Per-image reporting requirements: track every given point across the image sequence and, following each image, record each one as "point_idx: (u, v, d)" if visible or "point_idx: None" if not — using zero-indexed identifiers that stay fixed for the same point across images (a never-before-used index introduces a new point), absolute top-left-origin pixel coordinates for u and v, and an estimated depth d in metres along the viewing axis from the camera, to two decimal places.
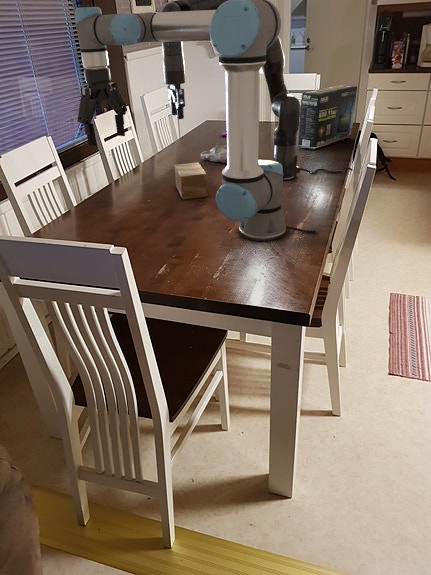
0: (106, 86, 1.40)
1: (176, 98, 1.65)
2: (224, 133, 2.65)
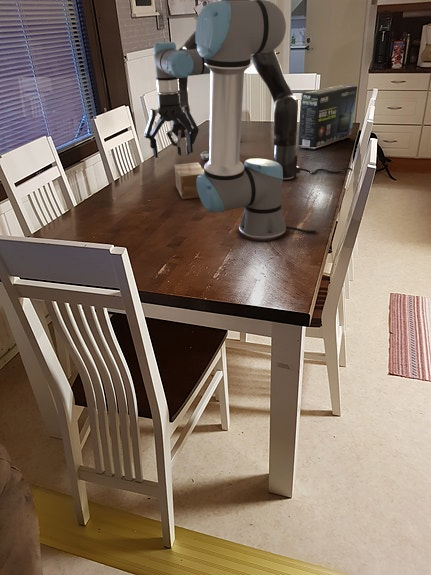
0: (176, 109, 1.61)
1: None
2: None
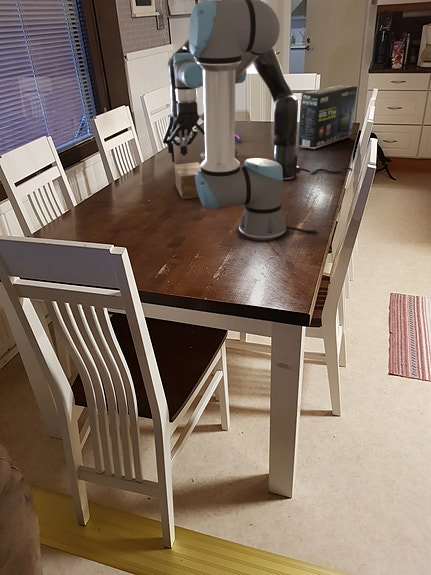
0: (193, 116, 1.68)
1: (188, 135, 1.88)
2: None
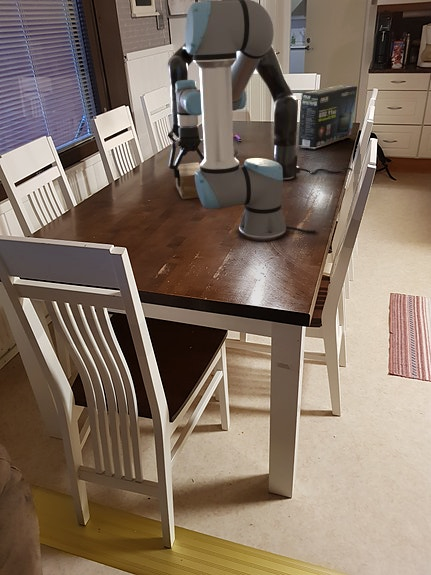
0: (195, 140, 1.72)
1: None
2: None
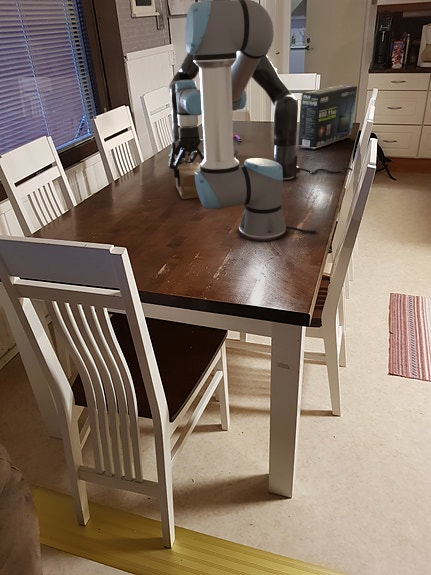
0: (195, 140, 1.72)
1: (189, 155, 1.93)
2: None
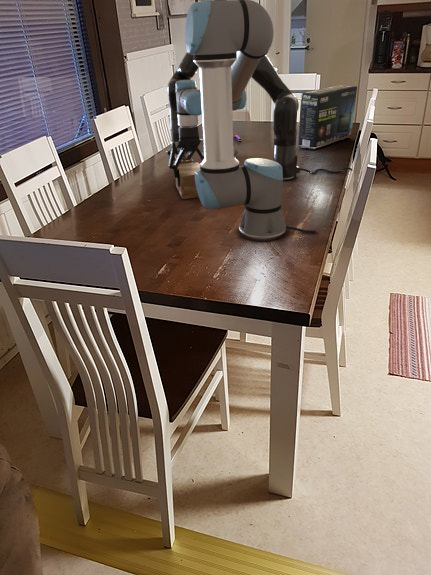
0: (195, 140, 1.72)
1: None
2: None
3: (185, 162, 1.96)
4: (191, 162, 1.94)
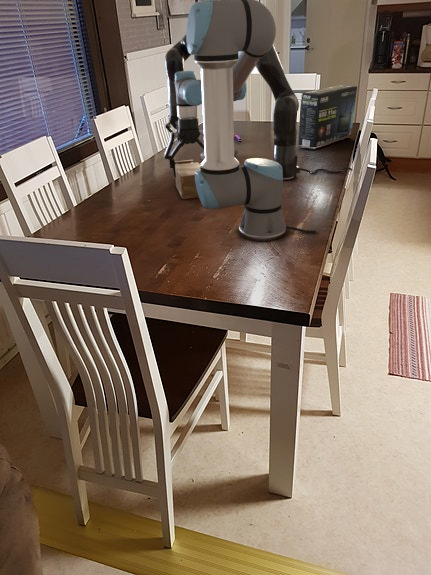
0: (194, 132, 1.71)
1: None
2: None
3: (185, 162, 1.96)
4: (191, 162, 1.94)
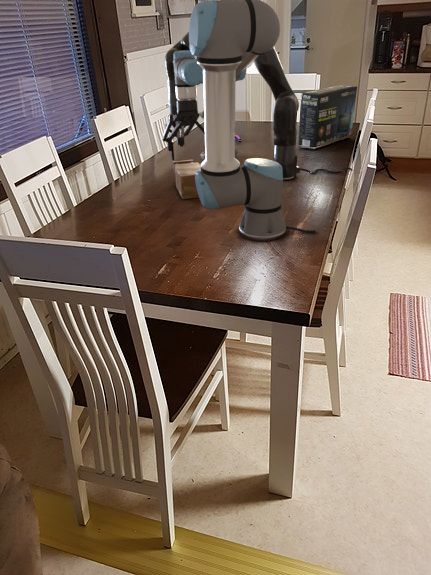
0: (193, 114, 1.67)
1: (185, 126, 1.92)
2: None
3: (185, 162, 1.96)
4: (191, 162, 1.94)
